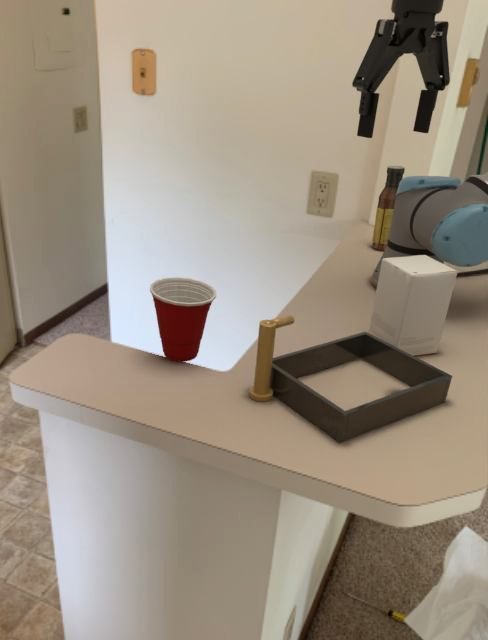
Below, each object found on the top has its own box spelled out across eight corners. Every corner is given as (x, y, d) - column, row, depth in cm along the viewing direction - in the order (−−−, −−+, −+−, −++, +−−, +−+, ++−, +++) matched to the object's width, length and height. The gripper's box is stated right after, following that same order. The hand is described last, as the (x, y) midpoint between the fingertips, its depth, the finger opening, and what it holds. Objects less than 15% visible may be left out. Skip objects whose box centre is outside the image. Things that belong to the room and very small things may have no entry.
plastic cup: (207, 373, 98) (210, 303, 92) (142, 365, 100) (141, 296, 94) (218, 344, 107) (222, 279, 101) (158, 337, 109) (158, 273, 103)
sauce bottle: (400, 248, 157) (417, 167, 147) (388, 253, 153) (404, 170, 143) (377, 242, 161) (392, 163, 150) (365, 247, 157) (379, 166, 147)
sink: (360, 355, 105) (373, 287, 98) (445, 401, 92) (466, 327, 86) (242, 391, 94) (248, 317, 87) (320, 450, 81) (333, 369, 74)
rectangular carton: (438, 353, 106) (460, 270, 98) (393, 359, 104) (412, 275, 96) (408, 332, 113) (426, 253, 106) (365, 337, 111) (381, 257, 103)
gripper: (454, -13, 101) (425, 127, 112) (342, -21, 89) (322, 135, 100) (494, -14, 95) (459, 133, 106) (381, -24, 84) (355, 142, 95)
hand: (393, 134), depth 103 cm, fingers open, 13 cm apart
